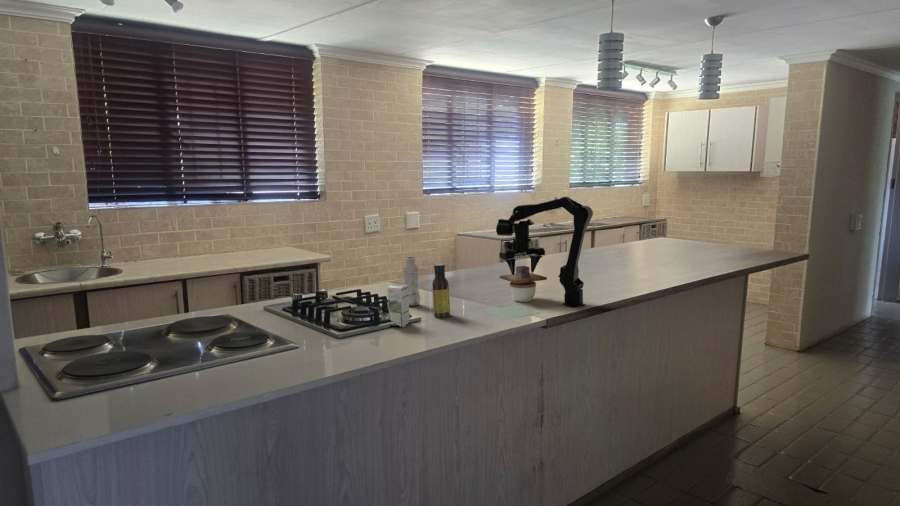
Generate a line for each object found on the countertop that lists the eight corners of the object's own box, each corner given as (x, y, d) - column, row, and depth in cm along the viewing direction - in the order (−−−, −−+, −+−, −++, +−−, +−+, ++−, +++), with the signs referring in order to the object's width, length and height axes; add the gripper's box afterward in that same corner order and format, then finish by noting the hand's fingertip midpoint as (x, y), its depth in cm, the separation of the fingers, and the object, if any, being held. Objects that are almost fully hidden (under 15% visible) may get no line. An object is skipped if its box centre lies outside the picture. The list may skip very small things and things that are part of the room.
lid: (528, 274, 246) (527, 262, 246) (546, 279, 234) (546, 267, 233) (499, 278, 241) (499, 266, 240) (517, 283, 228) (516, 271, 227)
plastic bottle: (418, 307, 234) (416, 258, 231) (402, 307, 235) (400, 258, 232) (422, 303, 240) (420, 256, 237) (406, 303, 241) (404, 256, 239)
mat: (518, 305, 231) (518, 304, 231) (540, 314, 216) (540, 313, 216) (482, 311, 224) (482, 310, 224) (503, 320, 210) (503, 319, 210)
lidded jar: (535, 298, 243) (535, 276, 242) (536, 304, 233) (536, 281, 231) (510, 298, 244) (509, 276, 243) (510, 304, 234) (509, 281, 232)
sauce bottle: (453, 316, 217) (451, 264, 214) (439, 319, 214) (437, 266, 211) (444, 313, 222) (442, 262, 220) (430, 316, 219) (428, 264, 216)
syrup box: (410, 323, 209) (408, 284, 207) (402, 327, 204) (400, 287, 202) (396, 322, 212) (395, 283, 210) (388, 326, 207) (386, 286, 204)
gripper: (530, 232, 246) (531, 268, 248) (492, 236, 238) (493, 273, 240) (545, 234, 236) (546, 272, 238) (505, 238, 228) (506, 277, 230)
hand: (522, 273), depth 237 cm, fingers open, 9 cm apart
